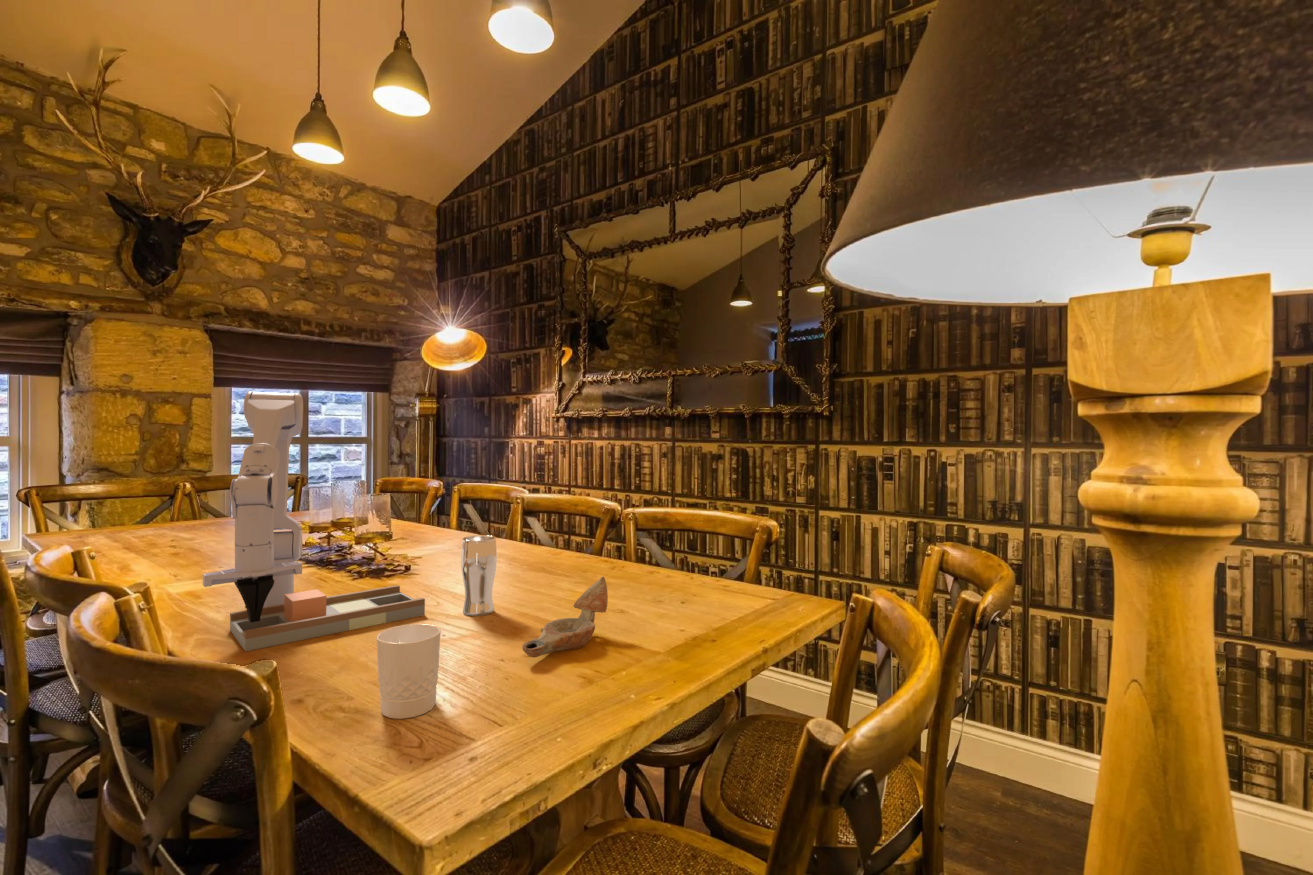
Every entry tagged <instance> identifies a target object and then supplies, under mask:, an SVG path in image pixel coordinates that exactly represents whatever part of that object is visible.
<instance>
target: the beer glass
mask: <svg viewBox="0 0 1313 875" xmlns="http://www.w3.org/2000/svg"><path fill="white" fill-rule="evenodd" d="M461 539H462V540H461V549H460V551H461V552H460V567H461V575H462V581H463V587H464V602H463V608H462V613H463V615H465V616H469V617H481V616H482V617H483V616H487V615H490V614H492V613H494V611H495V606H494V600H493V588H494V581H495V577H496V576H495V575H496V570H497V554H498V552H497V540H496V539H497V538H496V536H495V535H488V534H485V535H483V534H482V535H481V534H480V535H476V534H475V535H470V536H469V535H468V536H464V537H462V538H461Z"/></svg>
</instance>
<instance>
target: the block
mask: <svg viewBox="0 0 1313 875" xmlns="http://www.w3.org/2000/svg"><path fill="white" fill-rule="evenodd" d="M326 597H327V595H326V594H324V593H323V591H320V590H319V589H318V588H317V589H311V590H305V591H304V590H303V591H297V592H294V593H290V594H284V616H285V617H286V618H287V619H288V620H289V621H290V622H294V621H299V620H305V619H310V618H316V617H321V616H326Z"/></svg>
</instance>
